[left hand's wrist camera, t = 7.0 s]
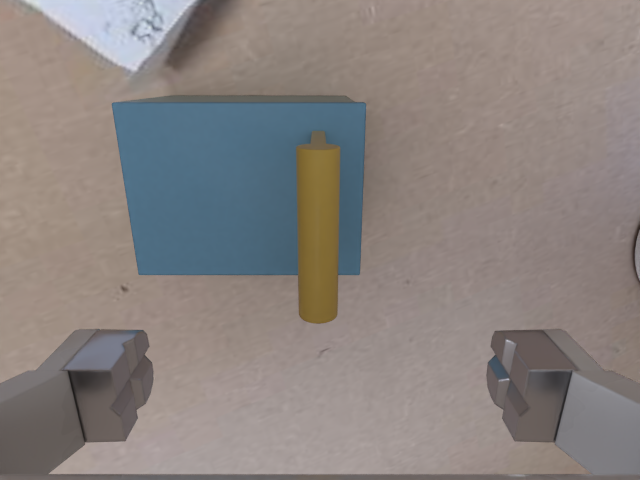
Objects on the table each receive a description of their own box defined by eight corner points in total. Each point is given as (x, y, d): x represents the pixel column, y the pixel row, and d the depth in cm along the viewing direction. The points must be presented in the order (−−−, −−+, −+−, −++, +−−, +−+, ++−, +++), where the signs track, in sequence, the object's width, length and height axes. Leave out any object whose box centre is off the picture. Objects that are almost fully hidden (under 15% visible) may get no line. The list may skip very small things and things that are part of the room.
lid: (364, 102, 23) (387, 114, 15) (358, 269, 27) (375, 348, 19) (117, 101, 23) (17, 114, 15) (143, 270, 27) (71, 348, 19)
